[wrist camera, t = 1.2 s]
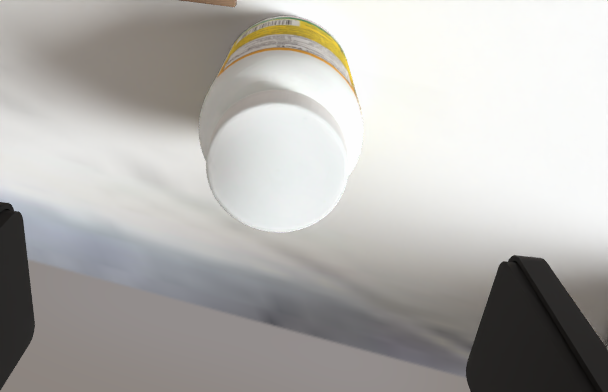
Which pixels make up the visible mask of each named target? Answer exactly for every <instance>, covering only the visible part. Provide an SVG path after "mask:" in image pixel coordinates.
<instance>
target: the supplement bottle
mask: <svg viewBox="0 0 608 392" xmlns="http://www.w3.org/2000/svg"><path fill="white" fill-rule="evenodd" d="M199 139H200V145H201V149H202V152H203V155H204V158H205V160H206V171H207V178H208V182H209V185H210V188H211V190H212V192H213V195H214V196H215V198H216V200H217V201H218V202H219V204H220V205H221V206H222V207H223V208H224V210H225V211H226V212H227V213H229V214H230V215H231V216H232V217H233V218H235V219H236V220H238V221H239V222H241V223H243V224H245V225H247V226H249V227H252V228H255V229H258V230H262V231H268V232H279V233H283V232H291V231H297V230H300V229H303V228H306V227H309V226H311V225H313V224H315V223H317V222H318V221H320V220H321V219H322V218H324V217H325V216H326V215H327V214H329V213H330V212H331V210H332V209H333V208H334V207H335V206H336V204H337V203H338V201H339V200H340V198H341V196H342V194H343V192H344V190H345V187H346V183H347V178H348V177H349V175H350V174H351V173H352V171H353V169H354V167H355V165H356V163H357V161H358V158H359V156H360V152H361V149H362V143H363V118H362V113H361V108H360V105H359V101H358V98H357V94H356V91H355V88H354V84H353V80H352V76H351V73H350V70H349V66H348V63H347V59H346V57H345V54H344V52H343V50H342V48H341V46H340V45H339V43H338V42H337V40H336V39H335V38H334V37H333V36H332V35H331V34H330V33H329V32H328V31H327V30H326V29H324V28H323V27H321V26H320V25H318V24H316V23H314V22H312V21H310V20H307V19H304V18H300V17H294V16H278V17H272V18H268V19H265V20H262V21H260V22H258V23H256V24H254V25H253V26H251V27H249V28H248V29H247V30H246V31H244V32H243V33H242V34H241V35H240V36H239V37H238V39H237V40H236V41H235V43H234V44H233V46H232V47H231V49H230V51H229V53H228V55H227V57H226V59H225V61H224V63H223V65H222V67H221V69H220V71H219V72H218V74H217V76H216V78H215V80H214V82H213V84H212V85H211V87H210V89H209V91H208V93H207V95H206V97H205V100H204V102H203V105H202V109H201V113H200V119H199Z"/></svg>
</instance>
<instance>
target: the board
mask: <svg viewBox="0 0 608 392" xmlns="http://www.w3.org/2000/svg"><path fill="white" fill-rule="evenodd" d="M181 1H189V2H197V3H205V4H213V5H221V6H229V7H235V6H236V3H237V0H181Z"/></svg>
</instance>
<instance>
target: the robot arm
mask: <svg viewBox="0 0 608 392" xmlns="http://www.w3.org/2000/svg"><path fill="white" fill-rule="evenodd" d="M34 324H35V322H34V313H33V304H32V295H31V286H30V278H29V269H28V260H27V251H26V242H25V233H24V224H23V218H22V215H21V213H20V212H17V211H14V209H13V207H12V205H11V204H9V203H3V202H0V390H1V388H2V387H3V385H4V384H5V382H6V380H7V379H8V377H9V376H10V374H11V372H12V371H13V369H14V368H15V366H16V365H17V363H18V361H19V360H20V358H21V356H22V355H23V353H24V352H25V350H26V349H27V347H28V345H29V344H30V341H31V340H32V337H33V333H34V327H35V325H34ZM466 377H467V382H468V385H469V388H470V391H471V392H608V346H607V348H606V347H605V345H604V344H603V343H602V341H601V340H600V338H599V337H598V335H597V334H596V333H595V331H594V330H593V328H592V327H591V325H590V324H589V322H588V321H587V320H586V318H585V317H584V315H583V314H582V312H581V311H580V310H579V308H578V307H577V305H576V304H575V302H574V301H573V299H572V298H571V297H570V295H569V294H568V292H567V291H566V289H565V288H564V287H563V285H562V284H561V282H560V281H559V279H558V278H557V277H556V275H555V274H554V272H553V271H552V269H551V268H550V266H549V265H548V264H547V262H546V261H545V260H544V259H542V258H535V257H525V256H516V255H514V256H512V257H511V258H510V259H509V261H508V262H502V263H501V264H500V266H499V268H498V271H497V274H496V277H495V280H494V283H493V286H492V289H491V292H490V295H489V298H488V301H487V304H486V307H485V310H484V313H483V316H482V319H481V322H480V325H479V328H478V331H477V334H476V338H475V341H474V344H473V347H472V350H471V353H470V356H469V359H468V362H467V367H466Z"/></svg>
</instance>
